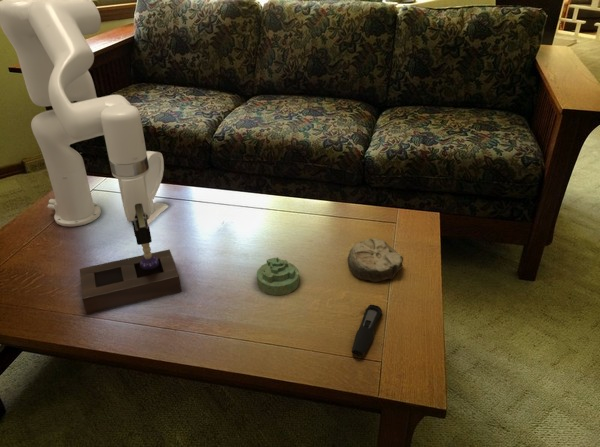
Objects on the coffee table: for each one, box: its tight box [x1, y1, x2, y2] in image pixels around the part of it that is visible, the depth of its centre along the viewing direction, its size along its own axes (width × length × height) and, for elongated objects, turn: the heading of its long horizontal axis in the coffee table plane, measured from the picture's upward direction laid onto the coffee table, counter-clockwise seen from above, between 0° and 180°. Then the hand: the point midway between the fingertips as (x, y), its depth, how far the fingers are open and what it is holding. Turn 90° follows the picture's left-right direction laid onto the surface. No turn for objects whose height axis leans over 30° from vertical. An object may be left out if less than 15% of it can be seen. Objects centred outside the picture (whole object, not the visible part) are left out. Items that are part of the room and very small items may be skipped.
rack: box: [79, 249, 182, 315], centre depth 121 cm, size 12×21×4 cm, turn 113°
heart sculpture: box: [144, 150, 169, 225], centre depth 148 cm, size 16×5×18 cm, turn 162°
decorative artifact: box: [256, 257, 300, 296], centre depth 123 cm, size 10×7×10 cm
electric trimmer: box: [351, 304, 383, 357], centre depth 108 cm, size 4×16×3 cm, turn 159°
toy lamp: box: [130, 208, 159, 269], centre depth 117 cm, size 5×5×17 cm
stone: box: [347, 237, 404, 283], centre depth 128 cm, size 13×13×5 cm
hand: (143, 238), depth 118 cm, fingers closed on toy lamp, 2 cm apart
